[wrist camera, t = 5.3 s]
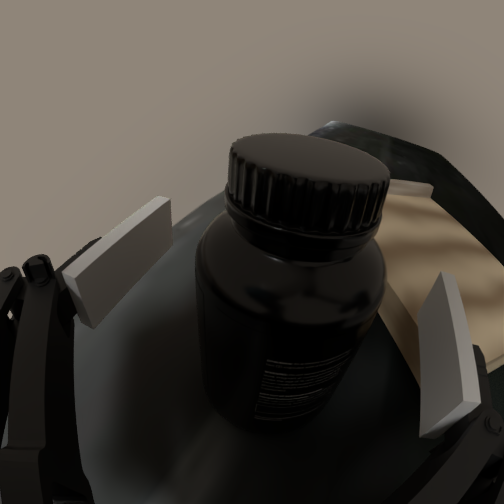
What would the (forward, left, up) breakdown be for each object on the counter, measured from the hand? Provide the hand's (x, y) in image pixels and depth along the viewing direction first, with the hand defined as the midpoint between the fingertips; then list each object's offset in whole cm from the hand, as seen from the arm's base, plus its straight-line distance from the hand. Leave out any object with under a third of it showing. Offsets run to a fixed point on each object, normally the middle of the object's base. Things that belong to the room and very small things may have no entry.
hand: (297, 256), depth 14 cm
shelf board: (+5, -16, -6) cm, 18 cm away
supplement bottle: (-2, +1, -7) cm, 7 cm away
